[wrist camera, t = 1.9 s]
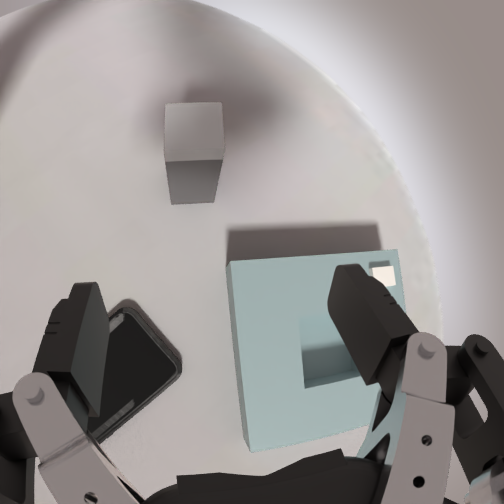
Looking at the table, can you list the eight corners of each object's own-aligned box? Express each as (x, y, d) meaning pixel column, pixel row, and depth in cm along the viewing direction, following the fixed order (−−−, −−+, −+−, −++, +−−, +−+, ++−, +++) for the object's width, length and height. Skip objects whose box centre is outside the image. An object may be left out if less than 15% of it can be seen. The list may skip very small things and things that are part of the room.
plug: (171, 204, 29) (163, 150, 19) (170, 166, 29) (165, 103, 20) (213, 202, 29) (225, 148, 20) (211, 164, 30) (221, 102, 21)
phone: (24, 397, 21) (127, 301, 25) (29, 395, 22) (130, 302, 26) (78, 461, 21) (188, 371, 25) (82, 457, 22) (188, 369, 26)
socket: (243, 438, 25) (252, 455, 21) (225, 268, 28) (231, 259, 24) (391, 402, 29) (414, 410, 25) (378, 256, 32) (400, 247, 28)
